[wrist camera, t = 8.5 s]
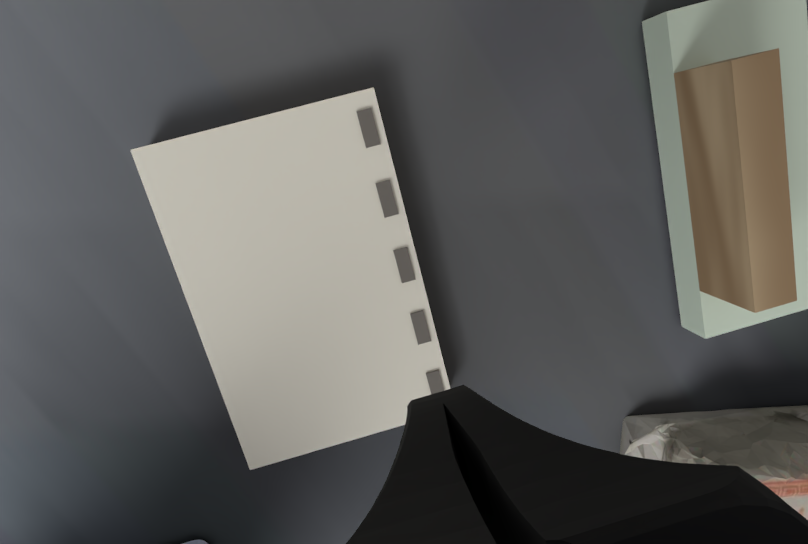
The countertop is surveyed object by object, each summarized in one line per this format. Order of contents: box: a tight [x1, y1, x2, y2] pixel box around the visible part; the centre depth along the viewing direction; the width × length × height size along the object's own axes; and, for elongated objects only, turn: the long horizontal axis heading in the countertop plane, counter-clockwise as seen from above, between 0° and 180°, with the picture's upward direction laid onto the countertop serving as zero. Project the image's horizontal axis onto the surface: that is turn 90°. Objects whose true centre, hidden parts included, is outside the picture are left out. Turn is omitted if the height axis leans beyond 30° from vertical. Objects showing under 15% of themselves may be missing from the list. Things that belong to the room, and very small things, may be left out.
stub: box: [642, 0, 808, 339], centre depth 19 cm, size 5×12×4 cm, turn 14°
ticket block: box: [130, 87, 450, 470], centre depth 20 cm, size 8×12×2 cm, turn 14°
